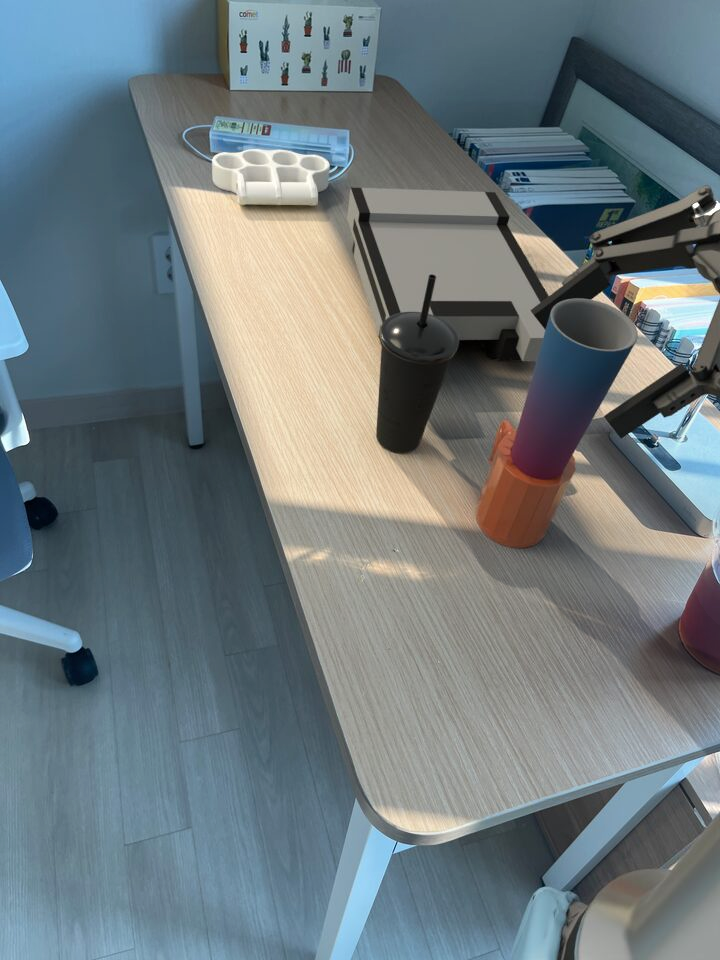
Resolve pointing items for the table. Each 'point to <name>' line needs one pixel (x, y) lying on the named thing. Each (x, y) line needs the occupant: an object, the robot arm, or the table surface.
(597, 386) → the cup
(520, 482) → the mug
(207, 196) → the table surface
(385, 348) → the drinking cup
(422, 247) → the game console
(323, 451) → the table surface
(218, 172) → the knuckle duster
